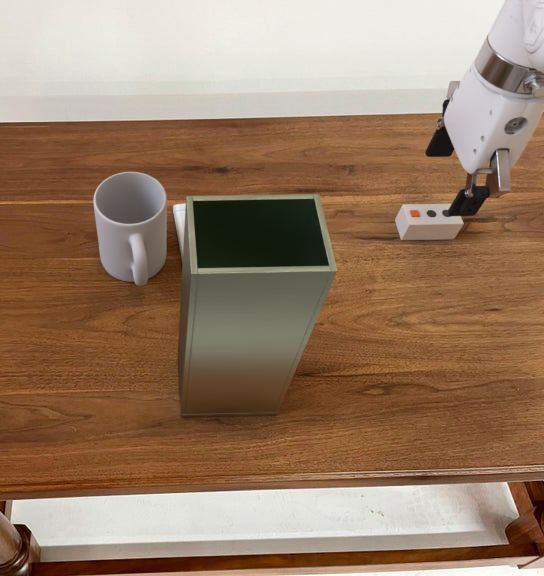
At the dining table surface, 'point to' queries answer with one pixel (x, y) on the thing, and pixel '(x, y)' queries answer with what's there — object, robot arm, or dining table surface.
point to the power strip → (427, 222)
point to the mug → (131, 226)
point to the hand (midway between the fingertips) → (448, 183)
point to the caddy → (248, 299)
